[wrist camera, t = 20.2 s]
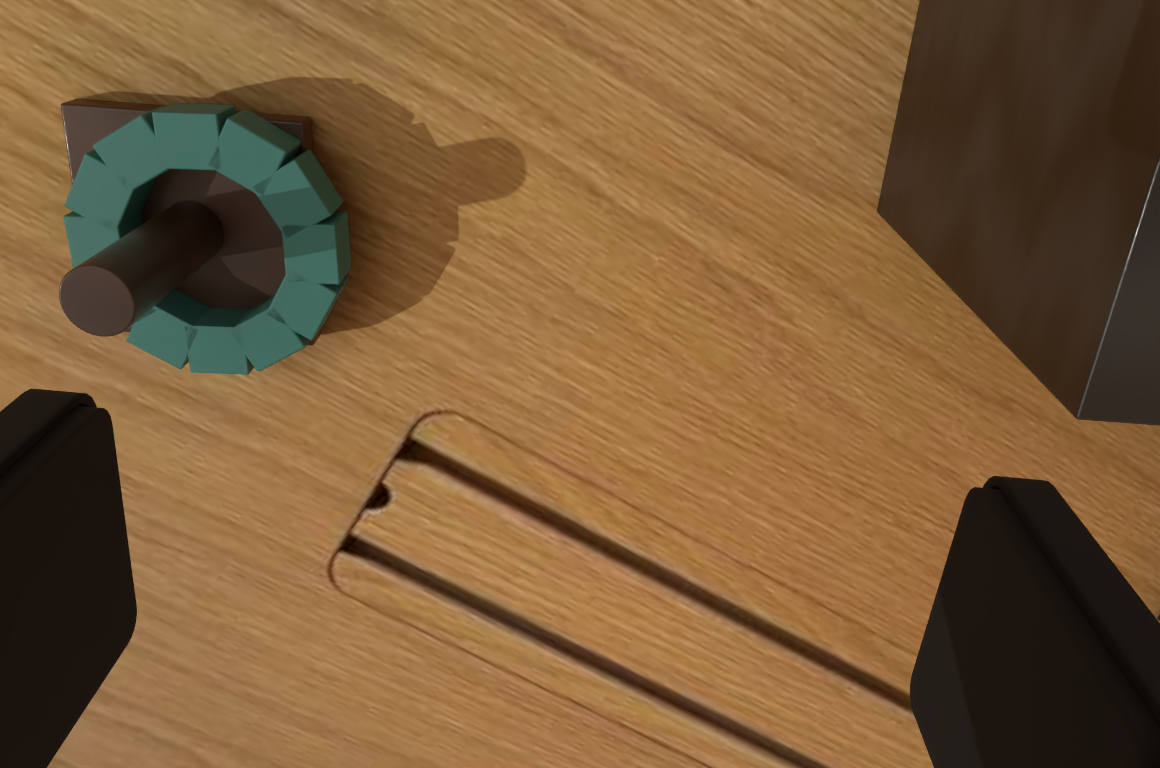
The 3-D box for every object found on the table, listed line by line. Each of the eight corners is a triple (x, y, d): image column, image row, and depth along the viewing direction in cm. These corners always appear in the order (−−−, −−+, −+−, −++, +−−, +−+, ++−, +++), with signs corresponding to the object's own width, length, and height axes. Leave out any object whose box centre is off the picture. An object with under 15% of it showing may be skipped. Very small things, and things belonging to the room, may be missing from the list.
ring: (69, 99, 36) (41, 107, 34) (340, 107, 36) (326, 117, 34) (115, 349, 40) (92, 369, 39) (358, 358, 40) (346, 378, 39)
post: (75, 98, 37) (-77, 147, 29) (312, 116, 38) (228, 170, 29) (105, 319, 41) (-21, 418, 33) (321, 335, 41) (249, 438, 33)
